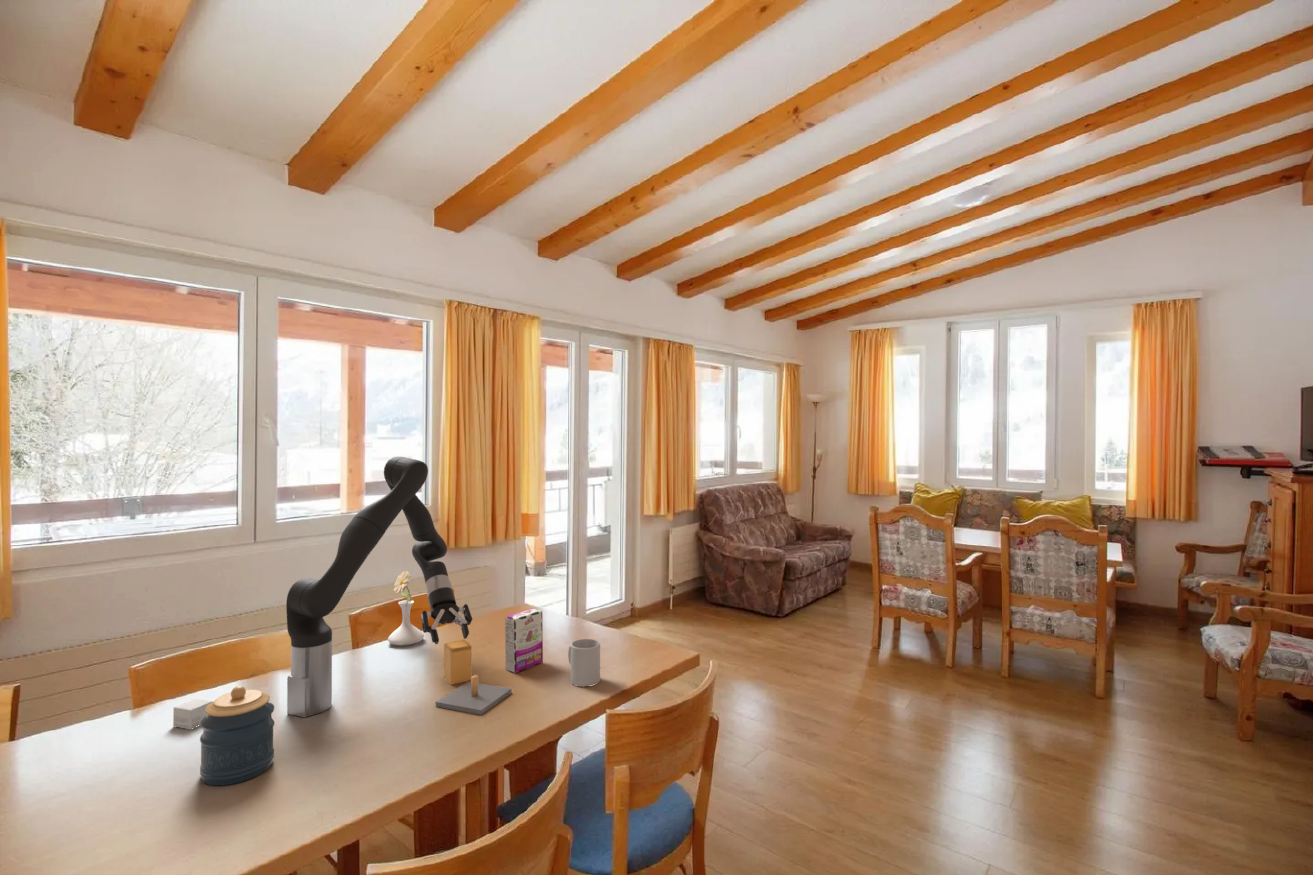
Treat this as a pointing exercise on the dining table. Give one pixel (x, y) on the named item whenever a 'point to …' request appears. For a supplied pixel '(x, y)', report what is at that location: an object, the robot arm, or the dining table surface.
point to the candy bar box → (523, 640)
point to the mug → (584, 662)
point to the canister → (236, 737)
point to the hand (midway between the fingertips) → (451, 639)
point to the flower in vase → (405, 616)
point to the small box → (190, 713)
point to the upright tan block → (457, 661)
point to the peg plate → (474, 697)
